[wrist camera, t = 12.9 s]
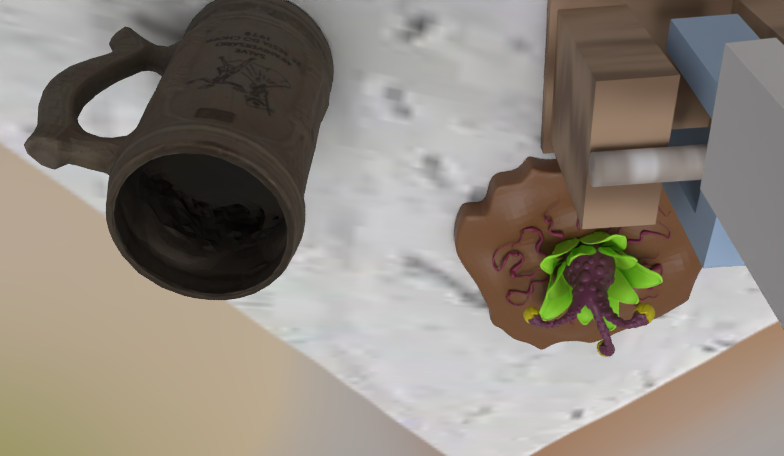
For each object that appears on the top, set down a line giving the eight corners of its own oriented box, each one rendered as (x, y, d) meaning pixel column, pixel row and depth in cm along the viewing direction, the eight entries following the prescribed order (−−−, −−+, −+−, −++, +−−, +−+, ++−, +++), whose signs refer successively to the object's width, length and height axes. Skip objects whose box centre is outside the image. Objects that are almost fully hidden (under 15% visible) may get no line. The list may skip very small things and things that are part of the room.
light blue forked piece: (670, 19, 44) (829, 238, 29) (737, 13, 44) (934, 231, 28) (647, 155, 51) (766, 396, 35) (705, 151, 51) (851, 391, 35)
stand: (548, -10, 49) (597, 81, 37) (808, -31, 48) (938, 55, 37) (540, 146, 56) (579, 262, 44) (767, 130, 55) (865, 244, 44)
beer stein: (359, 15, 50) (317, 165, 33) (328, 149, 56) (279, 330, 39) (133, -47, 48) (-28, 77, 32) (126, 97, 54) (-11, 264, 38)
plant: (719, 286, 65) (773, 383, 56) (509, 350, 69) (527, 448, 60) (676, 99, 54) (734, 181, 45) (430, 189, 59) (438, 280, 50)
